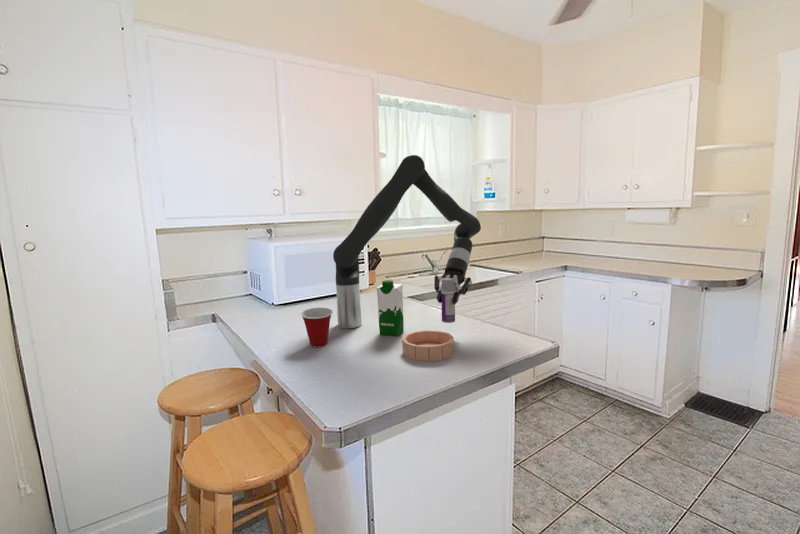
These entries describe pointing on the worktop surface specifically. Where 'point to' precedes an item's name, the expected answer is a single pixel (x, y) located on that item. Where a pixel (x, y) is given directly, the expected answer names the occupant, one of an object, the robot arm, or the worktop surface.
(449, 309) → the container
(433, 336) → the bowl
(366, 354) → the worktop surface
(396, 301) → the milk carton
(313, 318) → the plastic cup
